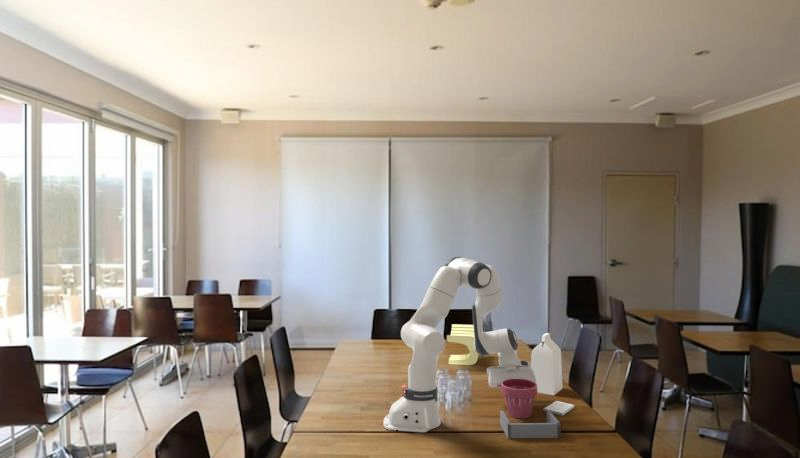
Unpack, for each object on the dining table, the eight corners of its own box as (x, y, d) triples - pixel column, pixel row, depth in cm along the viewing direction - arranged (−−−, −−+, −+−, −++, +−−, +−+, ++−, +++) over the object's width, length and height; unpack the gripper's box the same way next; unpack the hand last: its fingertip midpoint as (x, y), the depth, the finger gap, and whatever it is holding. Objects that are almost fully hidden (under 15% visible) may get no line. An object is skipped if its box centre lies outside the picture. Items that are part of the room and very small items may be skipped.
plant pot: (498, 418, 210) (498, 386, 210) (504, 406, 223) (504, 376, 223) (534, 423, 205) (534, 390, 205) (539, 410, 218) (539, 380, 218)
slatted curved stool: (476, 369, 279) (476, 336, 279) (447, 368, 282) (446, 335, 282) (479, 355, 308) (479, 325, 308) (452, 354, 311) (452, 324, 311)
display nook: (507, 438, 191) (507, 424, 191) (500, 423, 205) (500, 410, 205) (560, 437, 191) (560, 424, 191) (549, 422, 205) (549, 410, 205)
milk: (538, 384, 254) (538, 330, 253) (562, 388, 247) (562, 333, 247) (529, 390, 244) (529, 335, 243) (553, 395, 237) (553, 338, 237)
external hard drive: (543, 412, 218) (556, 404, 227) (562, 417, 213) (574, 408, 222) (543, 408, 218) (556, 400, 227) (562, 413, 212) (574, 404, 222)
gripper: (486, 362, 229) (491, 392, 219) (533, 362, 229) (539, 391, 219) (485, 370, 233) (489, 399, 224) (531, 369, 234) (536, 398, 224)
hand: (514, 395), depth 221 cm, fingers closed
